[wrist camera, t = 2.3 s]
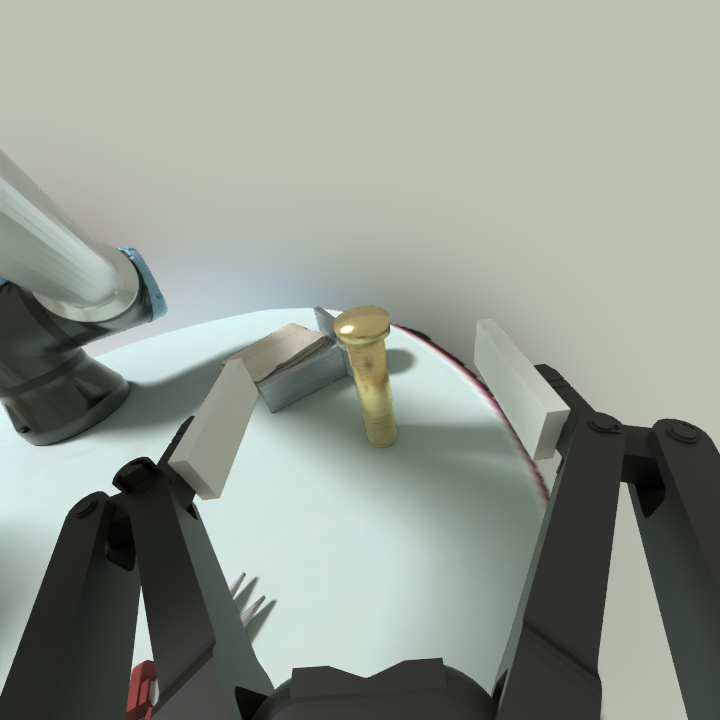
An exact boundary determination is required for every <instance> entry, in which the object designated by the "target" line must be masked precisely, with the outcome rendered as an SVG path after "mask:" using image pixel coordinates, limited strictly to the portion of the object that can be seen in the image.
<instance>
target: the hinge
mask: <svg viewBox="0 0 720 720" xmlns="http://www.w3.org/2000/svg"><path fill="white" fill-rule="evenodd" d="M314 312H315V315H316V319H317V322H318V326H319V329H320V331H321V332H323V333H324V334H326V335H328V336H329V337H330V339H331V340H332V341H333V342H334V343H335V344H336V345H337V346H336V347H334V348H332V349H330V350H328V351H326V352H324V353H321V354H319V355H317V356H315V357H313V358H311V359H309V360H306V361H304V362H302V363H300V364H298V365H296V366H294V367H292V368H289V369H287V370H285V371H283V372H281V373H279V374H277V375H274V376H272V377H270V378H268V379H266V380H264V381H262V382H260V383H257V385H258V387H259V389H260V391H261V393H262V395H263V397H264V399H265V401H266V403H267V405H268V407H269V409H270V411H271V413H274V412H276V411H278V410H280V409H281V408H283V407H285V406H287V405H289V404H291V403H293V402H295V401H297V400H299V399H301V398H303V397H305V396H307V395H309V394H311V393H313V392H315V391H316V390H318V389H320V388H322V387H324V386H326V385H328V384H330V383H332V382H334V381H336V380H338V379H340V378H342V377H344V376H346V375H349V376H353V371H352V367H351V363H350V359H349V354H348V350H347V346H344V345H342V344H341V343H339V342H338V340H337V336H336V332H335V328H334V321H335V319H336V318H335V317H333V316H332V315H330V314H329V313H328V312H326V311H325V310H324V309H322V308H321V307H319V306H318V307H316V308H314Z"/></svg>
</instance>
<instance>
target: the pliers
mask: <svg viewBox="0 0 720 720" xmlns="http://www.w3.org/2000/svg"><path fill="white" fill-rule="evenodd" d="M245 575H246V574H245V573H244V572H243V573H242V575H241V576H240V577H239V578H238V579H237V580H236V581H235V582H234V583H233V584H232V585H231V587H230V588H229V590H230V593H231V595H232V598H233V597H234V595H235V593H236V592H237V590H238V588H239V586H240V584H241V582H242V581H243V579H244V577H245ZM265 598H266V597H265V596H262V597H261V598H260V599H259V600H258V601H257V602H256V603H254V604H253V605H252V606H251V607H250V608H249V609H248V610H246V611H245V612H244V613H243V614H242V615H241V616H240V618H241V620H242V623H243V625H244V628H245V627H246V625H247V624H248V623H249V621H250V620H251V618H252V617H253V615H254V614H255V612H256V611H257V610H258V608H259V607H260V605H261V604H262V602H263V601H264V599H265ZM158 697H159V690H158V683H157V677H156V671H155V665H154V662H153V661H150V660H146V661H144V662H142V663H141V664H139V665H137V666H136V667H135V668H134V669H133V672H132V675H131V680H130V687H129V694H128V703H127V711H126V720H139V719H140V718H142V717H143V716H145V715H146V716H145V718H144V720H150V715H151V710H152V708H153V707H154V705H155V704H156V702H157V701H158Z"/></svg>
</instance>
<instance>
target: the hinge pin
mask: <svg viewBox="0 0 720 720" xmlns="http://www.w3.org/2000/svg"><path fill="white" fill-rule="evenodd" d="M334 328H335V332H336V336H337V340H338V342H339V343H341V344H342V345H344V346H347V350H348V354H349V359H350V363H351V367H352V371H353V376H354V380H355V384H356V389H357V393H358V397H359V401H360V406H361V410H362V414H363V419H364V423H365V427H366V432H367V436H368V440H369V442H370V443H371V444H372V445H373V446H376V447H380V448H383V447H388V446H390V445H392V444H393V443H394V442H395V440H396V438H397V430H396V423H395V416H394V408H393V401H392V394H391V387H390V379H389V372H388V365H387V358H386V350H385V343H384V339H385V338H386V337H387V336H388V335H389V333H390V323H389V315H388V313H387V311H386V310H384V309H383V308H380V307H376V306H362V307H356V308H353V309H350V310H347V311H345V312H343V313H342V314H340V315H339V316H338V317H337V318H336V319H335V321H334Z"/></svg>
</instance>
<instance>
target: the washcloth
mask: <svg viewBox="0 0 720 720" xmlns="http://www.w3.org/2000/svg"><path fill="white" fill-rule="evenodd" d="M329 340H330V337H329V336H328V335H326V334H323V333H320V332H317V331H311V330H308V329H307V328H305V327H303V326H300V325H297V324H293V323H291V324H288V325H286V326H284V327H282V328H281V329H279V330H277V331H275V332H274V333H271V334H269V335H268V336H266V337H263V338H262V339H261V340H259V341H257V342H255V343H254V344H251V345H250V346H248V347H247V348H245V349H243V350H241V351H239V352H238V353H236V354H234V355H232V356H230V357H229V358H227V359H225V360H223V361H222V362H221V363H220V365H221V366H220V368H219V369H220V371H222V370H223V368H224V367H225V365H226V363H227V362H228V360H233V359H240V358H241V359H242V361H243V363H244V365H245V367H246V369H247V371H248V373H249V375H250V376H251V378H252V380H253V382H254V384H255V386H256V388H257V390H260V389H259V387H258V385H257V383H260V382H262V381H264V380H266V379H268V378H270V377H272V376H274V375H277V374H279V373H281V372H283V371H285V370H287V369H289V368H292V367H294V366H296V365H298V364H300V363H302V362H303V361H304V360H306V359H307V358H309V357H310V356H312V355H313V354H314V353H316V352H318V351H319V350H320V349H322V348H323V347H325V346H326V345H327V344H328V343H329Z"/></svg>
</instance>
